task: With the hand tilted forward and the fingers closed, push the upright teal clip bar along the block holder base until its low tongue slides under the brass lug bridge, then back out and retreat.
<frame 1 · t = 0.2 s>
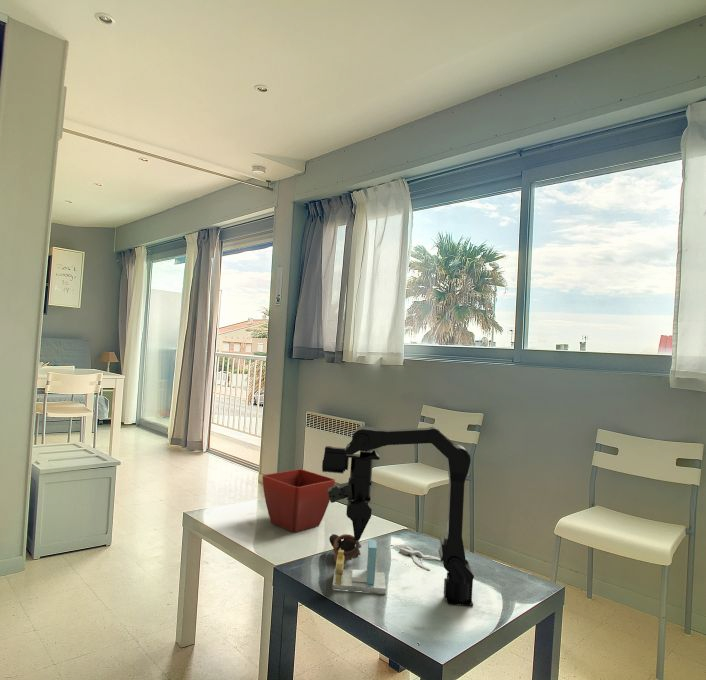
hand: (356, 534, 138), 15 cm above the table, tool pointing down, fingers open, 9 cm apart
plant pot: (295, 525, 186), on the table
pliers: (420, 560, 162), on the table
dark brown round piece: (343, 558, 159), on the table
block holder base: (359, 584, 142), on the table
clip bar: (364, 560, 142), point 6 cm above the table, slide at 0.0 cm
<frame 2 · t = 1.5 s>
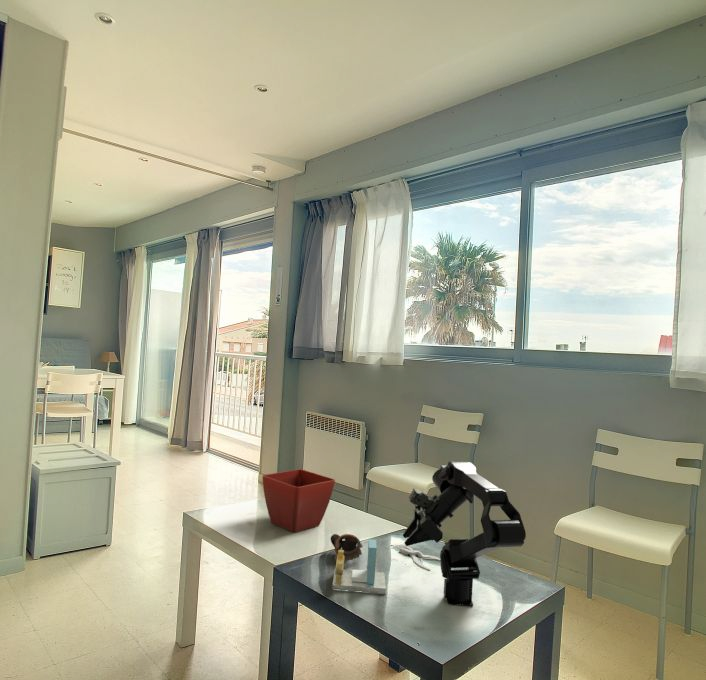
hand: (404, 540, 142), 13 cm above the table, tool tilted 45°, fingers open, 6 cm apart
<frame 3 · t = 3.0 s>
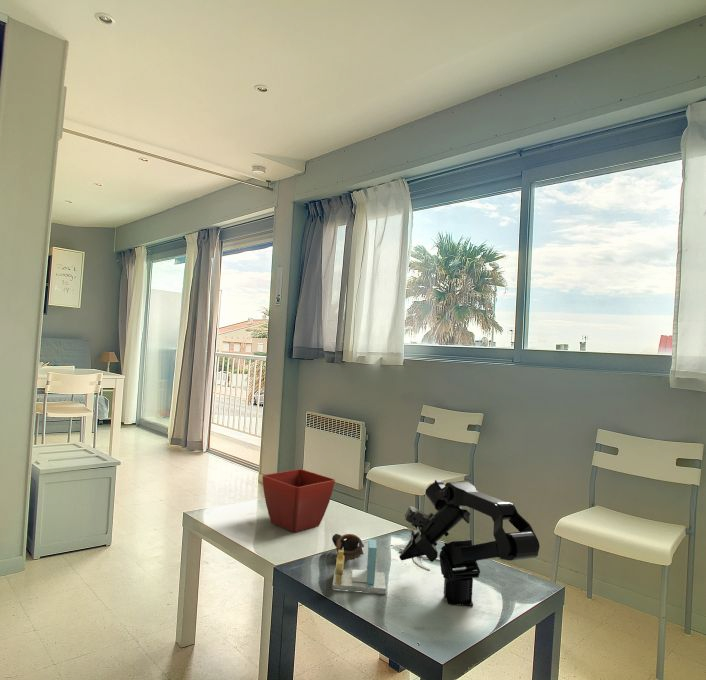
hand: (400, 558, 142), 8 cm above the table, tool tilted 45°, fingers closed
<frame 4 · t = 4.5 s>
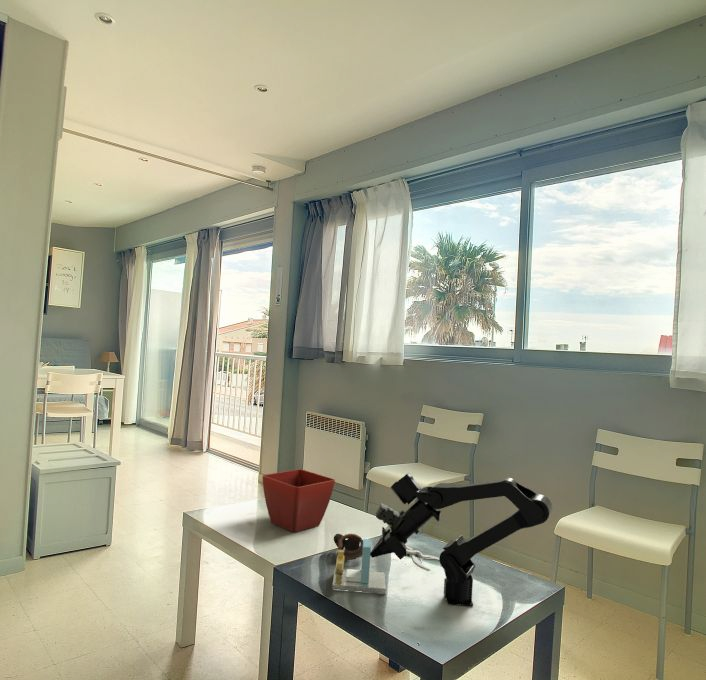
hand: (370, 555, 142), 8 cm above the table, tool tilted 45°, fingers closed, pressing on clip bar
clip bar: (358, 560, 142), point 6 cm above the table, slide at 1.6 cm, touching gripper
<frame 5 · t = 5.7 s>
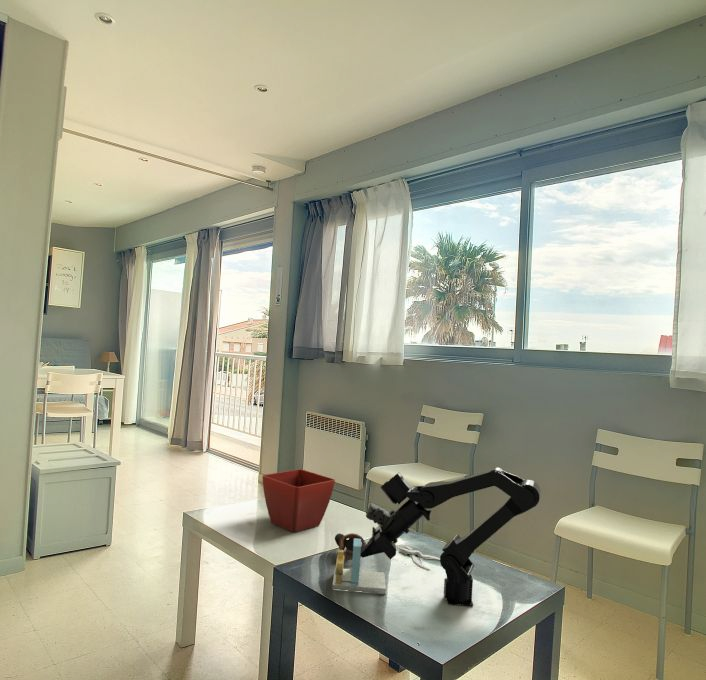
hand: (361, 555, 142), 8 cm above the table, tool tilted 45°, fingers closed, pressing on clip bar
clip bar: (348, 559, 142), point 6 cm above the table, slide at 4.2 cm, touching gripper
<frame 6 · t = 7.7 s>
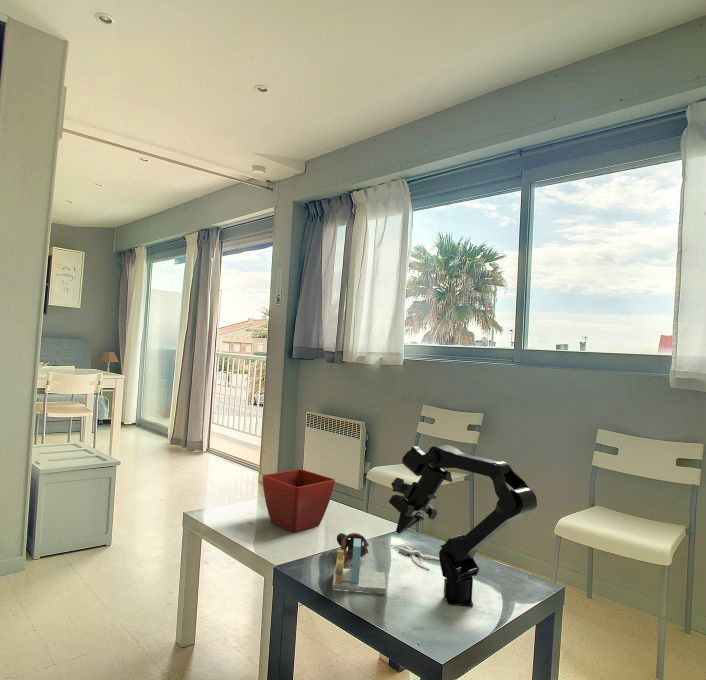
hand: (397, 532, 146), 13 cm above the table, tool tilted 30°, fingers closed
clip bar: (348, 559, 142), point 6 cm above the table, slide at 4.2 cm
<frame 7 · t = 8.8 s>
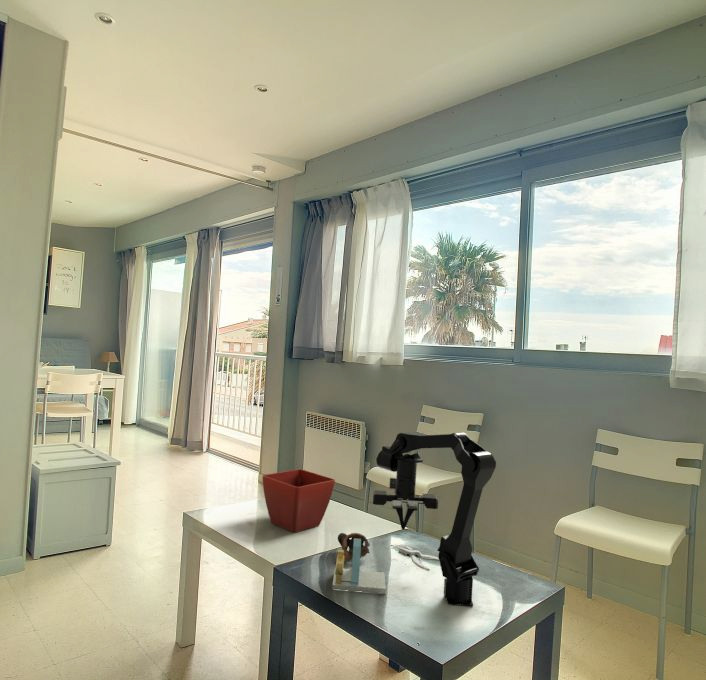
hand: (402, 528, 153), 12 cm above the table, tool pointing down, fingers closed
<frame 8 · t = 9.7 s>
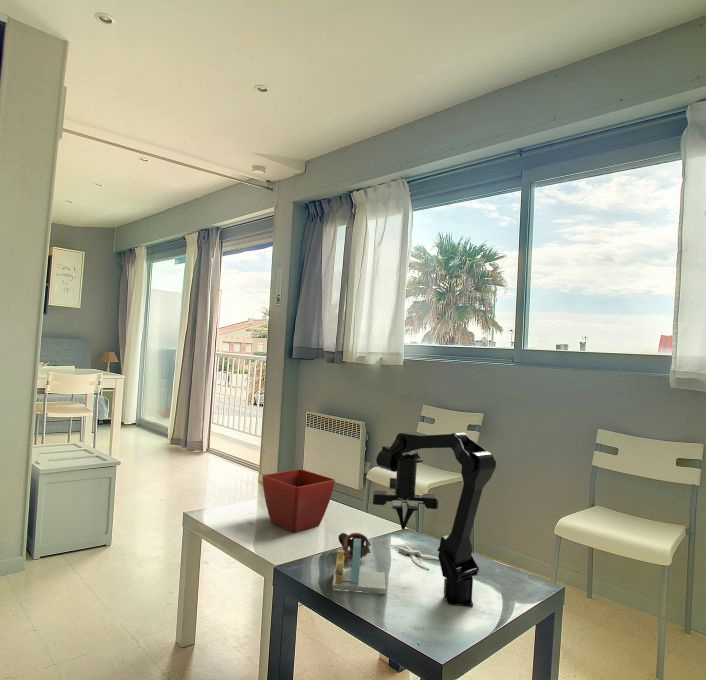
hand: (402, 528, 153), 12 cm above the table, tool pointing down, fingers closed
at the end: clip bar slide at 4.2 cm; the gripper is holding nothing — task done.
